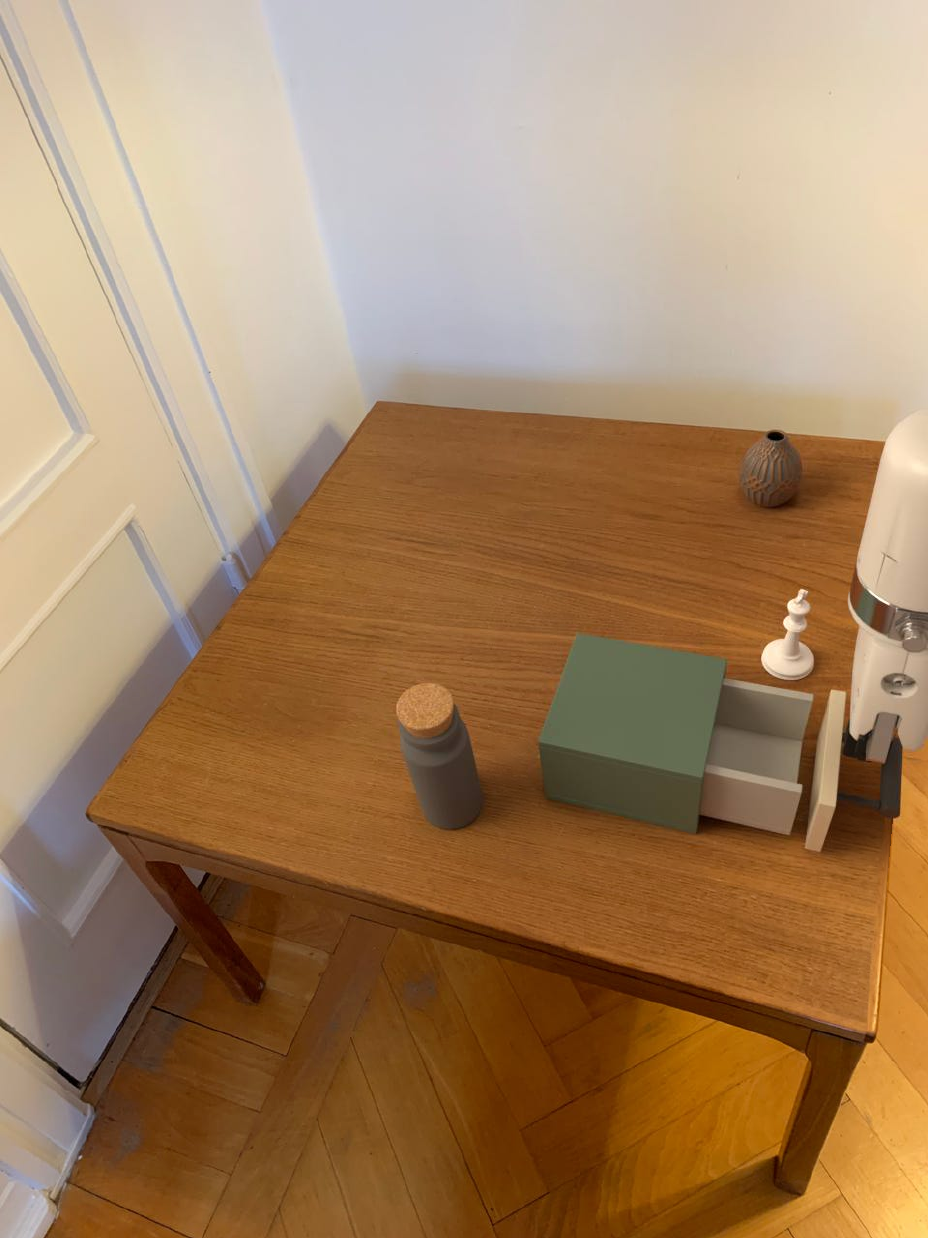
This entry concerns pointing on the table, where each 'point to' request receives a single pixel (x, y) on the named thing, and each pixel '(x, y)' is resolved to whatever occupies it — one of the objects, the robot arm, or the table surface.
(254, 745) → the table surface
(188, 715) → the table surface
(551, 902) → the table surface
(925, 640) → the robot arm
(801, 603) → the chess piece
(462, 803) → the bottle
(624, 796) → the cabinet
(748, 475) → the vase
